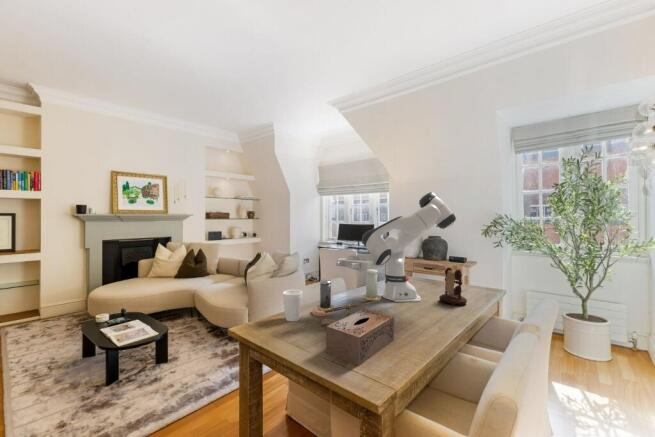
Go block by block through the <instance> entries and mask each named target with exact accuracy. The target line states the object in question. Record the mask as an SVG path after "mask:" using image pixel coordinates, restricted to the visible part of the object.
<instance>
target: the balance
mask: <svg viewBox="0 0 655 437" xmlns="http://www.w3.org/2000/svg"><path fill="white" fill-rule="evenodd" d="M362 299H363V300H364V301H361V302H355V303H351V304H350V303H346V304H345V305H342V306H337V307H335V306H334V305H332V304H331V307H330V308H327V309H324V308H320V304H318V305H317V306H316V308H317V310H319V311H324V312H325V313H328V312H331V313H333V312H336V311H342V310H345V317H347V316H349V315H351V308H355V307H361V306H366V305H370V304H372V303H373V302H377V301H380V300H381V295H378V294H377V298H368V297H366V294H363V295H362ZM339 320H340V319H335V318H334V319H333V318H323V319H322V320H321V323H320V324H321V325H320V327H326V326H328V325H330V324H332V323H334V322H337V321H339Z"/></svg>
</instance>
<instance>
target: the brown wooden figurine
mask: <svg viewBox="0 0 655 437" xmlns="http://www.w3.org/2000/svg"><path fill="white" fill-rule="evenodd" d="M444 273H445V274H444V275H445V278H444V281H445V285H444V293H443V294H440V295H439V297H438V298H439V301H440V302H441V301H442V302H444V303H449V304H452V306H453V307H454V306H455V305H463V304H465V305H466V304H467V303H468V302H467V300H468V299H467V298H466V297H464V296H462V295H461V294H462V292H463V291H462V285H463V281H462V278H463V274H462V271H461V269H456V270H455V271H453V269H452V268H451V267H447V268H446V269H445V270H444ZM455 284H457V285H456V286H455Z"/></svg>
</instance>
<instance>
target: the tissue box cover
mask: <svg viewBox="0 0 655 437" xmlns="http://www.w3.org/2000/svg"><path fill="white" fill-rule="evenodd" d="M338 320H339V321H337V322H334V323H332V324H330V325H328V326H325V328H326V329H325V330H326V331H325V332H326V336H325V338H326V339H325V340H326V341H325V352H326V353H327V354H329V355H331V356H334V357H337V358H338V359H342V360H344V361H345V362H349V363H351V364H353V365H356V366H358V367H359V366H361V365H363V364H364V363H366V361H368V360H369V359H370V358H372V357H373V356H374V355H376V354H377V353H378V352H380V351H381V350H383V349H384V348H386V347H387V346H388V345H389V344H391V343H392V342H393V341H394V339H395V337H394V336H395V316H394V315H393V316H392V315H390V314H385V313H382V312H378V311H374V310H369V309H366V308H363V309H360V310H358V311H356V312H354V313H352V314H350V315H349V316H347V317H346V316H344V317H343V318H341V319H338Z"/></svg>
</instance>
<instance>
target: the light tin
mask: <svg viewBox="0 0 655 437" xmlns="http://www.w3.org/2000/svg"><path fill="white" fill-rule="evenodd" d="M378 273H379V271H378V269H367V270H366V271H365V274H366V276H365V277H366V278H365V279H366V281H365V283H366V285H365V291H366V292H365V295H366V297H368V298H377V295H378V275H379V274H378Z"/></svg>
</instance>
